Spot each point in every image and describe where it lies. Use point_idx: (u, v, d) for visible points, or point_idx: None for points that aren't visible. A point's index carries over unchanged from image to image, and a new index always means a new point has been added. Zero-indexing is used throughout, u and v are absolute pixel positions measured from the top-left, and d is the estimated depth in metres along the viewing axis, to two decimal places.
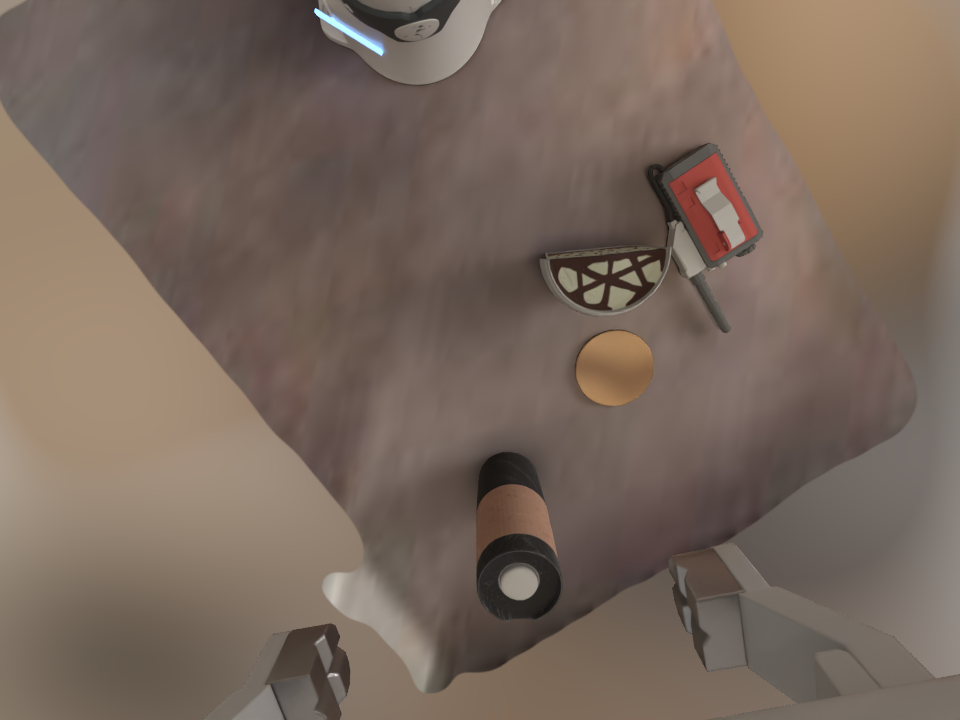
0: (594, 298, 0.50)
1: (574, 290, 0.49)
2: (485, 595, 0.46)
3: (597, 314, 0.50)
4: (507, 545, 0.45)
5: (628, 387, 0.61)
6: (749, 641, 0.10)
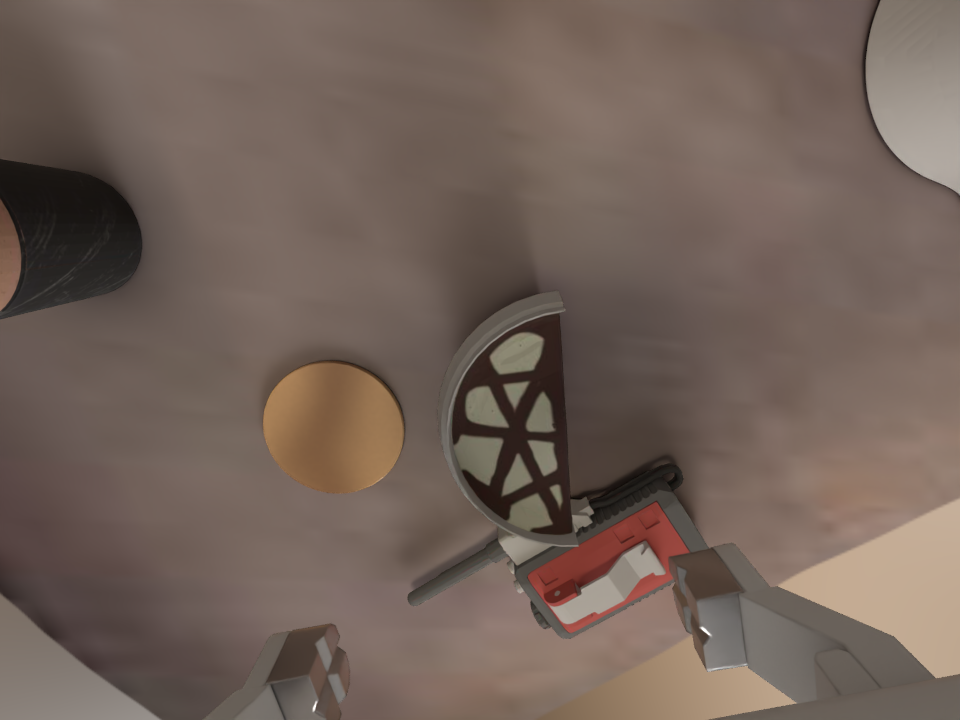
0: (475, 408, 0.24)
1: (493, 367, 0.23)
2: None
3: (443, 416, 0.24)
4: None
5: (300, 455, 0.34)
6: (749, 641, 0.10)
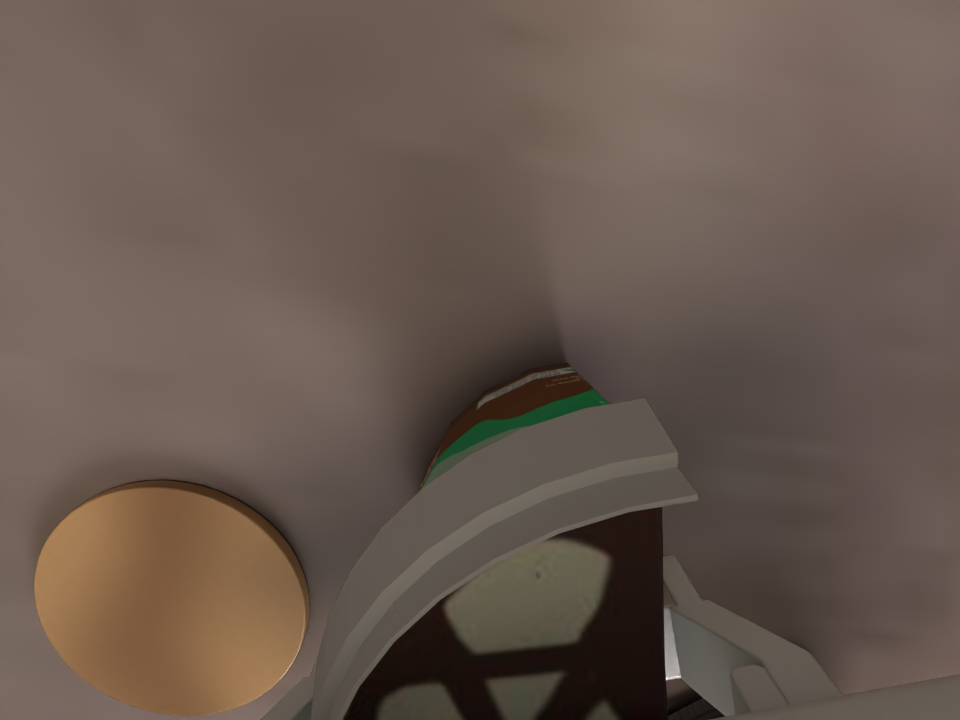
0: None
1: (457, 635, 0.08)
2: None
3: None
4: None
5: (112, 652, 0.18)
6: (681, 654, 0.10)
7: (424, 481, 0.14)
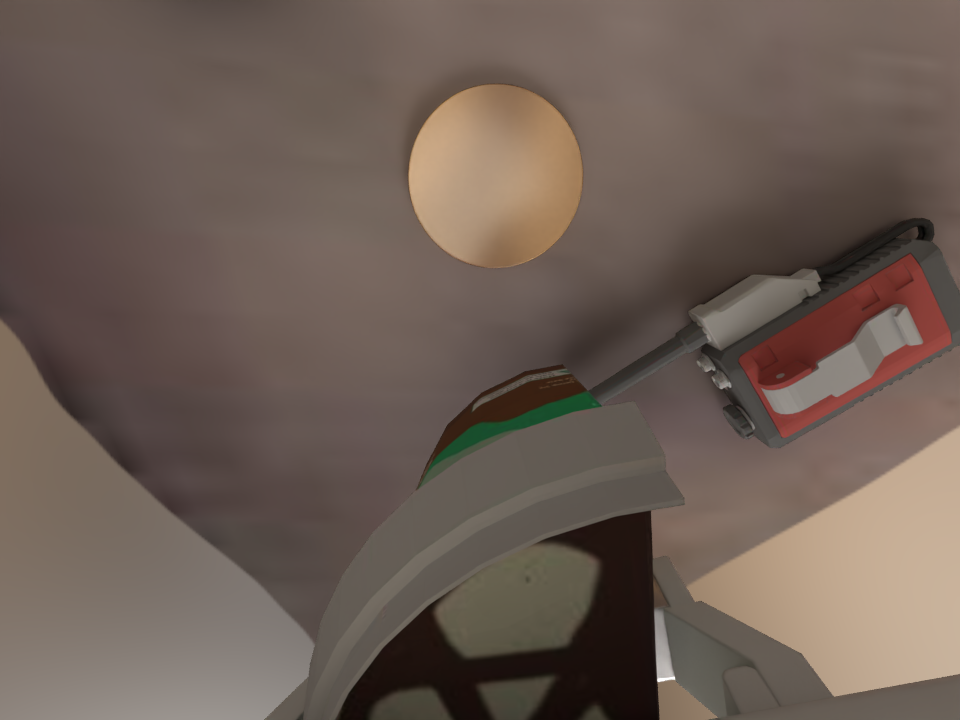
0: None
1: (447, 640, 0.08)
2: None
3: None
4: None
5: (452, 214, 0.27)
6: (675, 655, 0.10)
7: (419, 484, 0.14)
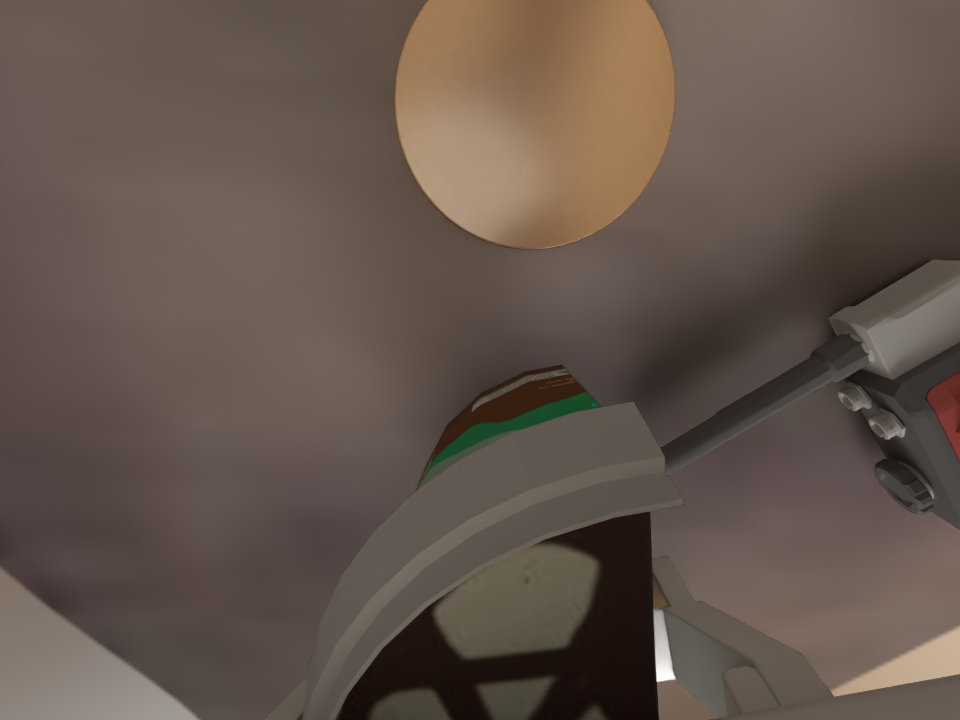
0: None
1: (447, 641, 0.08)
2: None
3: None
4: None
5: (465, 163, 0.17)
6: (675, 655, 0.10)
7: (419, 484, 0.14)
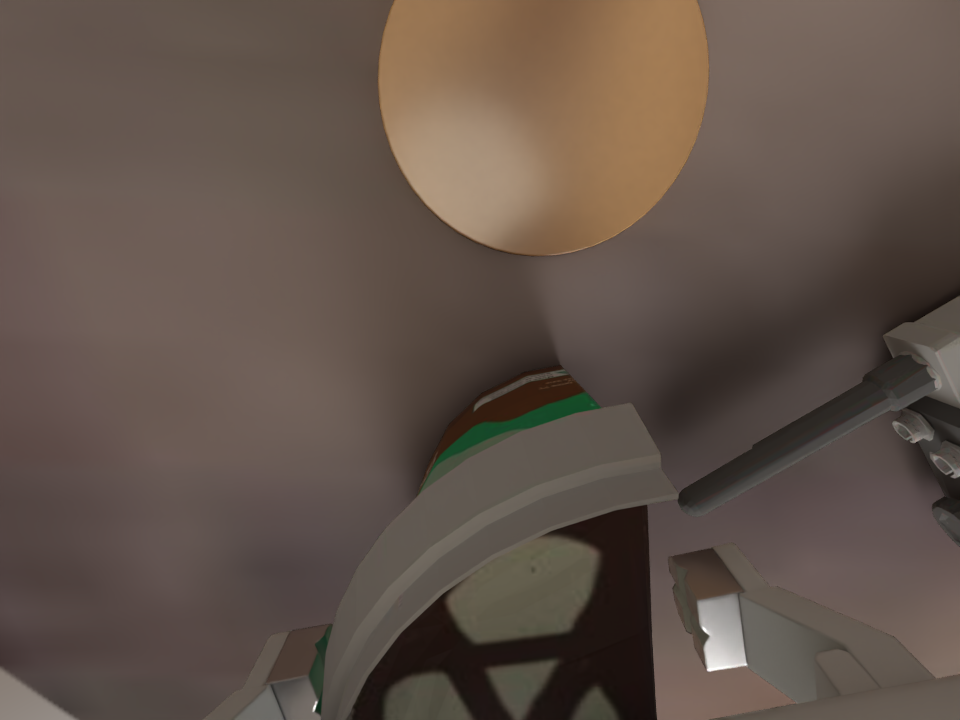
0: None
1: (458, 627, 0.08)
2: None
3: None
4: None
5: (461, 155, 0.15)
6: (749, 641, 0.10)
7: (424, 482, 0.15)
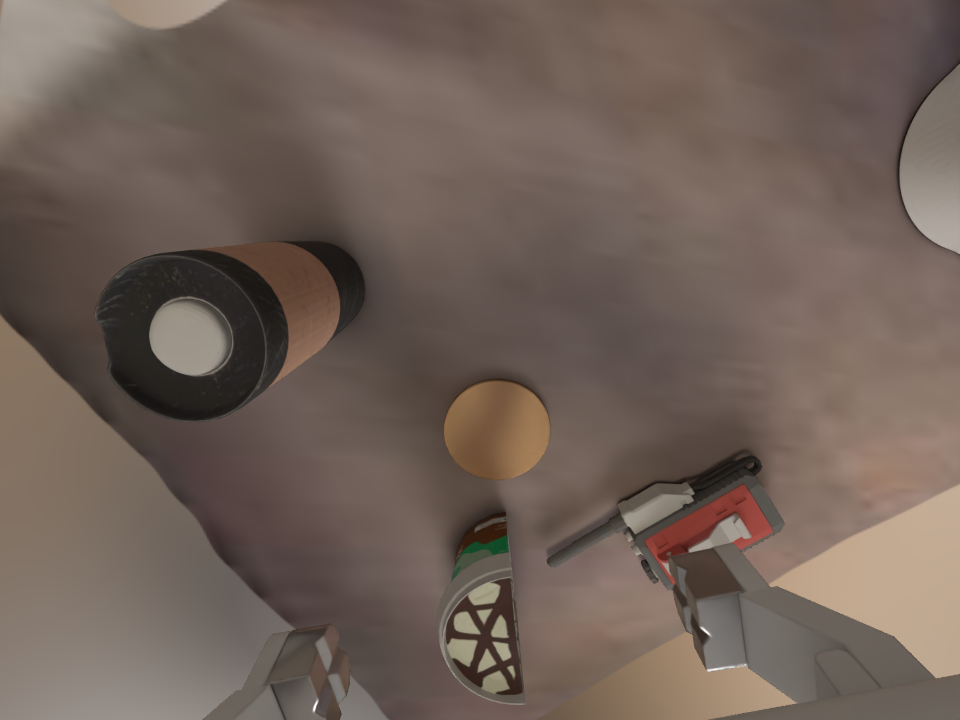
0: (460, 623, 0.39)
1: (470, 601, 0.38)
2: (148, 270, 0.22)
3: (440, 629, 0.39)
4: (270, 313, 0.23)
5: (470, 450, 0.45)
6: (749, 641, 0.10)
7: (458, 557, 0.44)
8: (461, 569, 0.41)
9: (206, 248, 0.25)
